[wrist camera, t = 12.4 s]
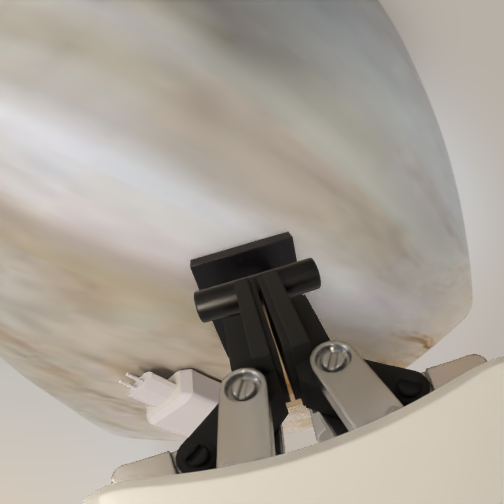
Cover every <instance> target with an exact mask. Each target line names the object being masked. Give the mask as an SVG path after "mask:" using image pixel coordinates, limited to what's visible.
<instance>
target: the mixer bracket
mask: <svg viewBox="0 0 504 504" xmlns="http://www.w3.org/2000/svg"><path fill="white" fill-rule="evenodd" d="M295 262H297V261H296V255H295V249H294V244H293V238H292V236H291V235H290V233H289V232H286V233H282V234H279V235H276V236H272V237H269V238H265V239H262V240H258V241H255V242H251V243H248V244H245V245H241V246H238V247H234V248H231V249H227V250H224V251H221V252H217V253H214V254H210V255H207V256H204V257H200V258H197V259H193V260H191V261H190V267H191V270H192V273H193V275H194V278H195V280H196V283H197V285H198V288H199V290H203V289H207V288H210V287H214V286H217V285H221V284H224V283H227V282H231V281H234V280H238V279H241V278H245V277H248V276H251V275H255V274H258V273H262V272H265V271H268V270H272V269H275V268H278V267H282V266H285V265H288V264H292V263H295ZM300 296H302V294H300V295H297V296H294V297H291V298H290V299H293V298H297V297H300ZM240 314H241V313H237V314H234V315H230V316H227V317H223V318H220V319H216V320H212V321H213V324H214V326H215V328H216V331H217V333H218V335H219V337H220V340H221V342H222V344H223V346H224V349H225V351H226V353H227V355H228V357H229V353H228V347H227V341H226V335H225V329H224V323H223V319H226V318H230V317H233V316H237V315H240ZM311 410H312V409H311ZM312 413H313V414H314V413H317V411H314V410H312Z"/></svg>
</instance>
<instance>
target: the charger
mask: <svg viewBox="0 0 504 504" xmlns="http://www.w3.org/2000/svg"><path fill="white" fill-rule="evenodd" d="M126 376H127V377H129V378H131V379H133V380H135V383H134V384H133V385H132V384H130V383H128V382H126V381H124V380H122V379H120V380H119V383H121V384H123V385H125V386H127V387H129V388H131V389H130V391H129V393H128V396H129V397H131V398H133V399H135V400H138V401H140V402H142V403H144V404H147V416H146V417H147V420H148V422H149V424H150V425H152V426H155V427H158V428H160V429H163V430H166V431H169V432H172V433H175V434H178V435H181V436H184V437H187V438H188V437H189V436H190V435H191V434H192V433H193V432H194V430H195V429H196V428H197V427H198V426H199V425H200V424H201V423H202V421H203V420H204V419H205V418H206V417H207V416H208V415H209V413H210V412H211V411H212V410H213V409H214V408H215V406H216V405H217V404H218V403H219V389H220V385H221V383H219V382H217V381H215V380H213V379H211V378H209V377H206V376H204V375H202V374H200V373H198V372H196V371H194V370H192V369H186V370H180V371H177V372H176V373H175V374H174V375H172V376H171V377H170V378H169V379H164V378H162V377H160V376H158V375H156V374H154V373H152V372H146V373H144V374H143V375H142V376H141V377H140V378H138V377H136V376H134V375H132V374H130V373H127V374H126Z"/></svg>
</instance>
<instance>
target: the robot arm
mask: <svg viewBox="0 0 504 504" xmlns="http://www.w3.org/2000/svg"><path fill="white" fill-rule="evenodd" d="M258 282H259V286H260V290H261V294H262V297H263V301H264V305H265V309H266V312H267V316H268V320H269V324H270V327H271V330H270V327H269V324H268V321H267V318H266V316H265V313H264V310H263V307H262V304H261V301H260V298H259V295H258V292H257V289H256V286H255V283H254V280H250V281H248V280H247V277H246V278H243V279H240V280H236V281H233V283H234V287H235V292H236V296H237V300H238V305H239V309H240V313H241V314H240V315H237V316H233V317H230V318H226V319H223V323H224V329H225V335H226V341H227V347H228V353H229V359H230V365H231V371H232V372H231V373H229V374H228V375H227V376H226V377H225V378H224V379H223V381H222V382H221V385H220V389H219V403H218V404H217V405H216V406H215V408H214V409H213V410H212V411H211V412H210V413H209V415H208V416H207V417H206V418H205V419H204V420H203V421H202V423H201V424H200V425H199V426H198V427H197V428H196V429H195V430H194V432H193V433H192V434H191V435H190V436H189V437H188V438H187V439H186V440H185V442H184V443H183V444H182V445H181V446H180V448H179V449H178V451H175V452H172V453H170V452H169V451H167V452H164V453H162V454H158V455H155V456H152V457H149V458H146V459H143V460H139V461H136V462H133V463H129V464H125V465H122V466H120V467H118V468H117V469H116V470H115V471H114V472H113V475H112V484H110V485H107V486H105V487H103V488H101V489H98V490H97V491H95V492H93V493H92V494H90V495H89V496H88V497H87V498H86V499H85V500H84V501H83V503H82V504H504V357H500V358H496V359H493V360H490V361H487V360H486V359H485V358H484V357H482V356H481V355H477V354H472V355H467V356H465V357H462V358H459V359H456V360H453V361H450V362H447V363H444V364H440V365H438V366H434V367H431V368H427V369H426V371H425V372H422V373H419V372H416V371H413V370H409V369H404V368H399V367H395V366H390V365H386V364H382V363H377V362H373V361H369V360H365V359H363V358H362V357H361V356H360V355H359V354H358V353H357V351H356V350H355V349H354V348H353V347H352V346H351V345H349V344H348V343H346V342H343V341H337V340H334V341H330V339H329V337H328V336H327V334H326V332H325V330H324V328H323V326H322V325H321V323H320V321H319V319H318V317H317V315H316V314H315V312H314V310H313V308H312V306H311V305H310V303H309V301H308V299H307V298H306V296H305V295H303V296H300V297H297V298H293V299H290V298H289V296H288V294H287V292H286V290H285V287H284V285H283V283H282V281H281V279H280V277H279V275H278V273H277V271H276V269H273V270H270V271H267V272H263V273H262V277H260V278H258ZM271 331H272V333H271ZM272 334H273V336H272ZM273 337H274V339H273ZM274 340H275V342H274ZM275 343H276V345H275ZM276 346H277V348H278V351H279V354H280V357H281V360H282V363H283V366H284V369H285V371H286V374H287V377H288V380H289V383H290V386H291V389H292V391H293V394H294V397H295V400H298V399H301V400H302V402H303V405H304V406H305V405H306V408H309V409H312V410H314V411H317V413H318V416H319V418H320V419H321V421H322V422H323V424H324V425H325V427H326V429H327V430H328V432H329V433H330V435H331V437H332V438H331V439H328V440H325V441H323V442H320V443H317V444H314V445H311V446H308V447H304V448H301V449H298V450H295V451H291V452H288V453H285V445H284V437H283V427H282V422H283V421H284V419H285V418H286V416H287V415H288V410H287V406H286V403H288V402H291V399H290V395H289V392H288V388H287V384H286V380H285V377H284V373H283V369H282V365H281V362H280V358H279V354H278V351H277V348H276Z"/></svg>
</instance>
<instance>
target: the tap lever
mask: <svg viewBox="0 0 504 504" xmlns="http://www.w3.org/2000/svg"><path fill="white" fill-rule="evenodd" d="M275 269H276V271H277V273H278V275H279V277H280V279H281V281H282V283H283V285H284V287H285V290H286V292H287V294H288V296H289V298H291V297H294V296H297V295H300V294H303V293H306V292H309V291H313V290H316V289H319V288H320V286H321V280H320V275H319V271H318V268H317V266H316V264H315V262H314V261H313V259H312V258H308V259H305V260H301V261H298V262H295V263H292V264H288V265H285V266H282V267H278V268H275ZM272 270H273V269H272ZM268 271H270V270H268ZM265 272H267V271H265ZM262 273H263V272H262ZM262 273H258V274H255V275H251V276H248V277H247V280H248V281H250V280H254V283H255V286H256V289H257V292H258V295H259V298H260V301H261V304H262V307H263V310H264V313H265V316H266V318H267V321H268V324H269V320H268V316H267V312H266V309H265V305H264V301H263V297H262V294H261V290H260V286H259V282H258V278H260V277H262ZM245 278H246V277H245ZM241 279H243V278H241ZM238 280H240V279H238ZM234 281H236V280H234ZM194 301H195V305H196V309H197V312H198V315H199V317H200V319H201V321H202V322H204V323H205V322H209V321H212V320H216V319H220V318H223V317H227V316H230V315H234V314H237V313H240V309H239V305H238V300H237V296H236V292H235V287H234V283H233V281H231V282H227V283H224V284H221V285H217V286H214V287H210V288H207V289H203V290H200V291H196V292H195V293H194ZM269 327H270V324H269ZM270 330H271V327H270ZM271 333H272V331H271ZM272 336H273V334H272ZM273 339H274V337H273ZM274 342H275V340H274ZM275 345H276V343H275ZM276 348H277V346H276ZM277 351H278V348H277ZM278 354H279V351H278ZM279 358H280V362H281V365H282V369H283V373H284V377H285V380H286V384H287V388H288V392H289V395H290V399H291V402H288V403H286V406H287V408H289V407H292V406H295V405H298V404H301V403H303V402H302V400H301V399H298V400H295V397H294V394H293V391H292V389H291V386H290V383H289V380H288V377H287V374H286V371H285V369H284V366H283V363H282V360H281V357H280V354H279Z"/></svg>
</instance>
